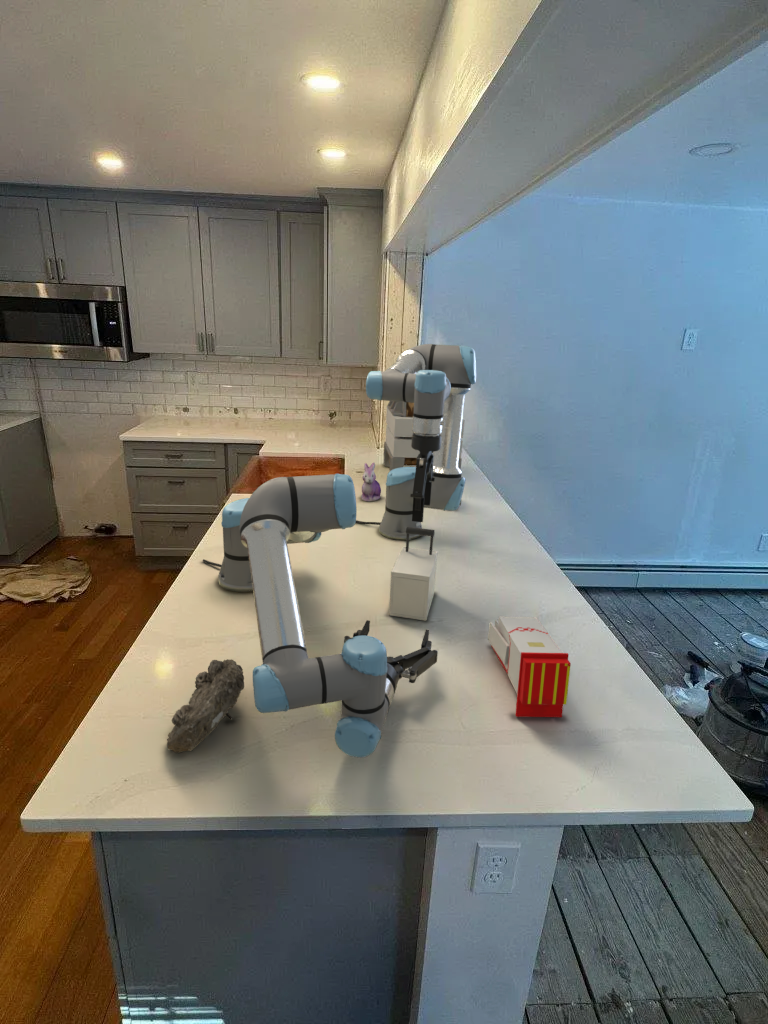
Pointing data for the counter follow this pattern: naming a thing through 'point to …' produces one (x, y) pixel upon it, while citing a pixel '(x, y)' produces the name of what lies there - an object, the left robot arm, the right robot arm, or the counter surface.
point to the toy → (531, 665)
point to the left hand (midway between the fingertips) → (397, 630)
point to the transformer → (403, 436)
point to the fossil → (206, 705)
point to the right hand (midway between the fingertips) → (421, 512)
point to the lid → (415, 558)
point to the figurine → (370, 484)
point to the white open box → (411, 596)
